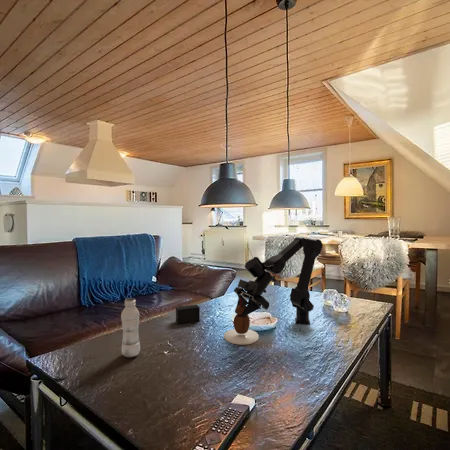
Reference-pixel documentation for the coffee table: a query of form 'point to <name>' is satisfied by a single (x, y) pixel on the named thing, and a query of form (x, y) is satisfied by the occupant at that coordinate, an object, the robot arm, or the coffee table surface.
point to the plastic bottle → (130, 329)
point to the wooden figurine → (241, 319)
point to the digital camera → (187, 314)
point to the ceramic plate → (241, 337)
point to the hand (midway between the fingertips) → (238, 314)
